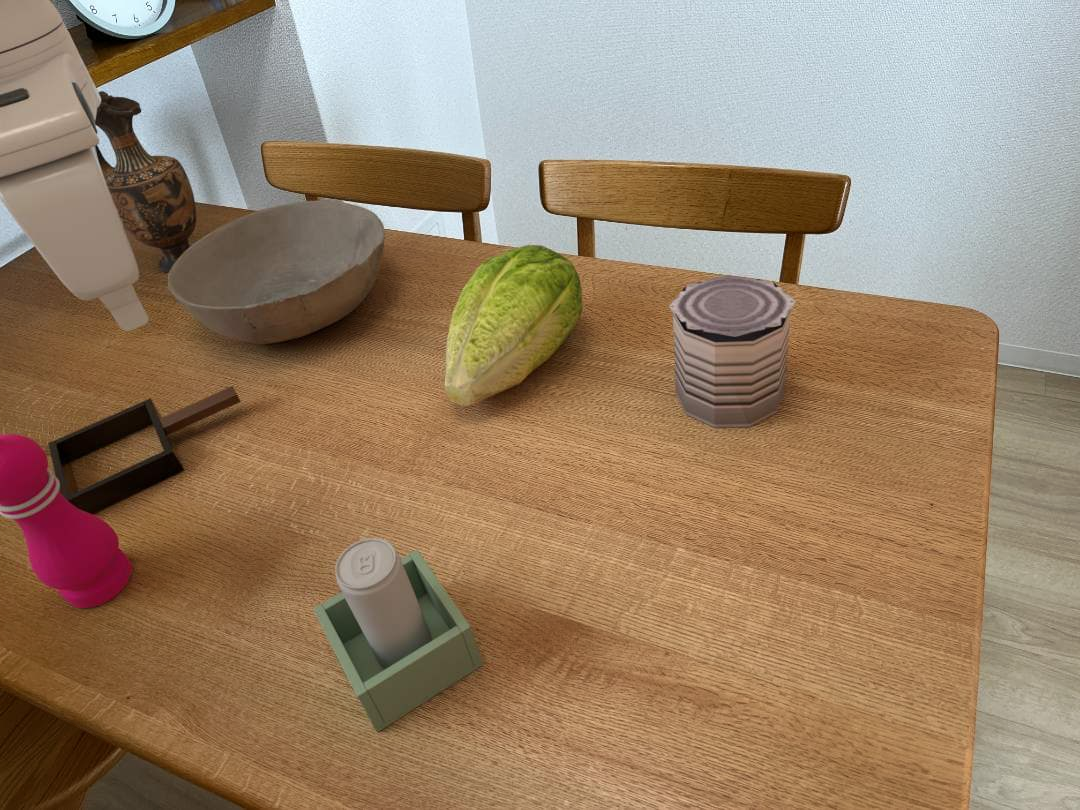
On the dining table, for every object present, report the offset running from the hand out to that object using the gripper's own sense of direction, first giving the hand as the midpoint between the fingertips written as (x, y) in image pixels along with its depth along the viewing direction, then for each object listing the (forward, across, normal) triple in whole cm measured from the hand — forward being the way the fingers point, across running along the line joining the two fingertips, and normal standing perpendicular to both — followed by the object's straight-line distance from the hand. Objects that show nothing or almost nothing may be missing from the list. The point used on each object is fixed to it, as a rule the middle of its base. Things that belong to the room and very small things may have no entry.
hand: (123, 293), depth 56 cm
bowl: (+31, -42, +16) cm, 55 cm away
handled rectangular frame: (+31, -26, -6) cm, 41 cm away
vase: (+31, -70, +6) cm, 77 cm away
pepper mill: (+31, -10, -15) cm, 36 cm away
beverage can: (+31, +16, +6) cm, 35 cm away
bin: (+31, +16, +6) cm, 35 cm away
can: (+31, +8, +48) cm, 58 cm away
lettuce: (+31, -12, +33) cm, 47 cm away
